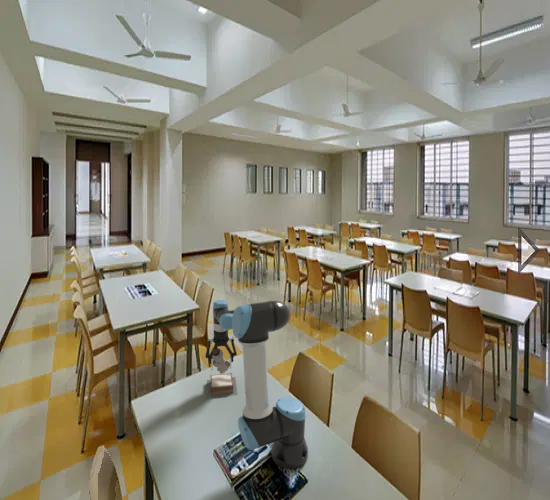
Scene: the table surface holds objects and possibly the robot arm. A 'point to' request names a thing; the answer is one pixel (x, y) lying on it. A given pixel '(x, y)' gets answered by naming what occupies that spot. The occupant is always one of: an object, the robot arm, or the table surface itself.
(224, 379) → the plinth
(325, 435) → the table surface
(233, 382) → the mat
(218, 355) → the figurine
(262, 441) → the robot arm
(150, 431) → the table surface
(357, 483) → the table surface
